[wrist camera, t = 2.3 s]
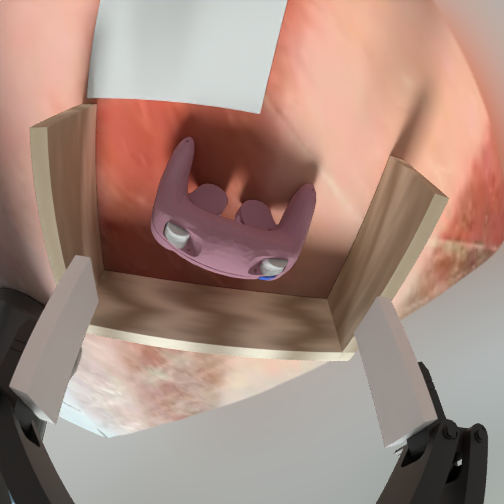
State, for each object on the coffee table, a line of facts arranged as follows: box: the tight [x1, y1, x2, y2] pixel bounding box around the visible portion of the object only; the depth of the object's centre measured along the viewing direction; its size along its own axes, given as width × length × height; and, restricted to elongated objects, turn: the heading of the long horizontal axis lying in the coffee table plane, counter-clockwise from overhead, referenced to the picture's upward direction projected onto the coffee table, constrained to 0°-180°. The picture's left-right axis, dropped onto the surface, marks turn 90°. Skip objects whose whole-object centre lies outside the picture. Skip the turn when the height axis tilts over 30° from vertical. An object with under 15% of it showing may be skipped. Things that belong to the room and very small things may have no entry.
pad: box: [87, 0, 287, 114], centre depth 12 cm, size 11×11×1 cm
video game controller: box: [151, 137, 316, 281], centre depth 18 cm, size 10×5×7 cm, turn 66°
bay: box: [30, 104, 449, 361], centre depth 19 cm, size 22×15×6 cm
